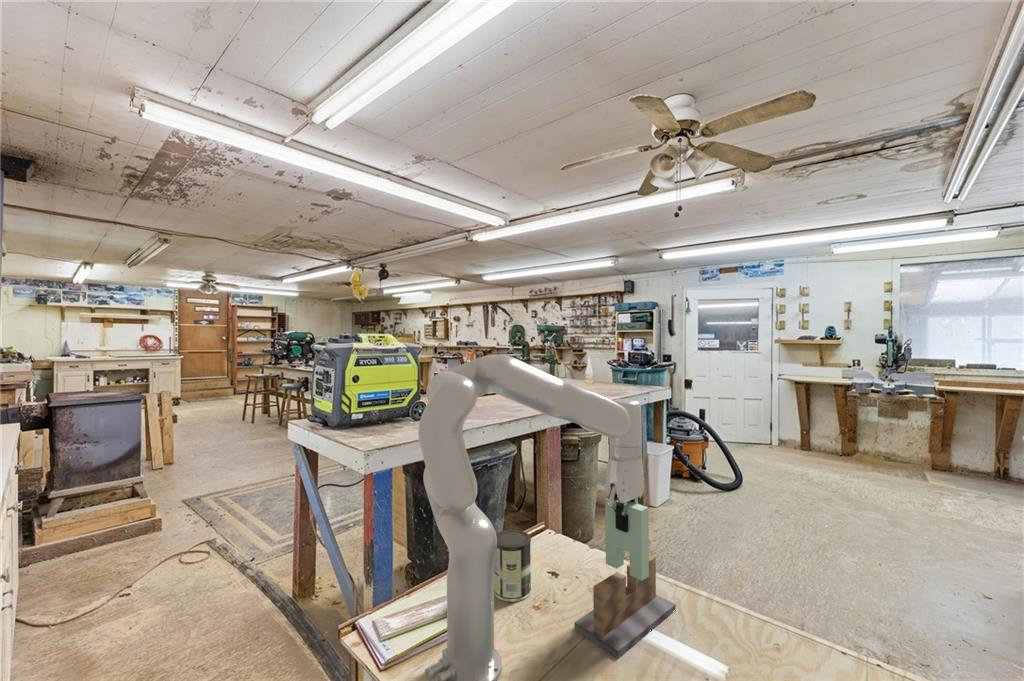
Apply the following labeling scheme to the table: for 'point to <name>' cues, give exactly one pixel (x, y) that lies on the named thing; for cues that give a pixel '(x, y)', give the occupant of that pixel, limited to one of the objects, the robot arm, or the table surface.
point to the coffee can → (512, 566)
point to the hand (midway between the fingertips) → (626, 527)
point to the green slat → (628, 539)
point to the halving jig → (624, 611)
